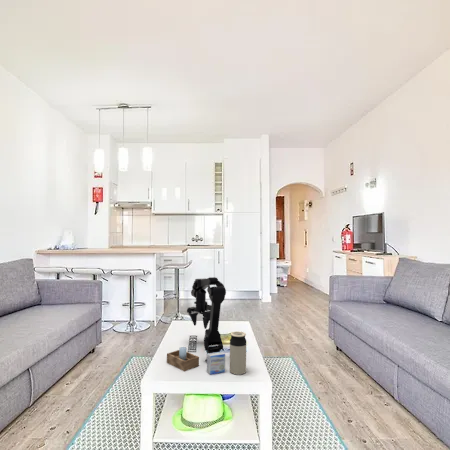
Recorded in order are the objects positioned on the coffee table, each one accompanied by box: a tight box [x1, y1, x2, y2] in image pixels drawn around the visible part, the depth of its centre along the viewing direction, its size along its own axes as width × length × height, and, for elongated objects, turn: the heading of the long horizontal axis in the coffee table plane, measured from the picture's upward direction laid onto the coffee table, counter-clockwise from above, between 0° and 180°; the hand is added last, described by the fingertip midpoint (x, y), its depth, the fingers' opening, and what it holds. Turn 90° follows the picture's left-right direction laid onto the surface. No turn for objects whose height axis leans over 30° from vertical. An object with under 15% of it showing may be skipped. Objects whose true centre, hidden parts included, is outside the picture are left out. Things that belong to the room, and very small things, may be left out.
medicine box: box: [206, 351, 226, 376], centre depth 150 cm, size 8×4×9 cm, turn 113°
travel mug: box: [229, 330, 247, 375], centre depth 151 cm, size 8×8×18 cm
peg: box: [178, 346, 187, 361], centre depth 158 cm, size 4×4×8 cm
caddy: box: [166, 349, 200, 372], centre depth 158 cm, size 15×9×4 cm, turn 46°
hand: (200, 327), depth 183 cm, fingers open, 9 cm apart
